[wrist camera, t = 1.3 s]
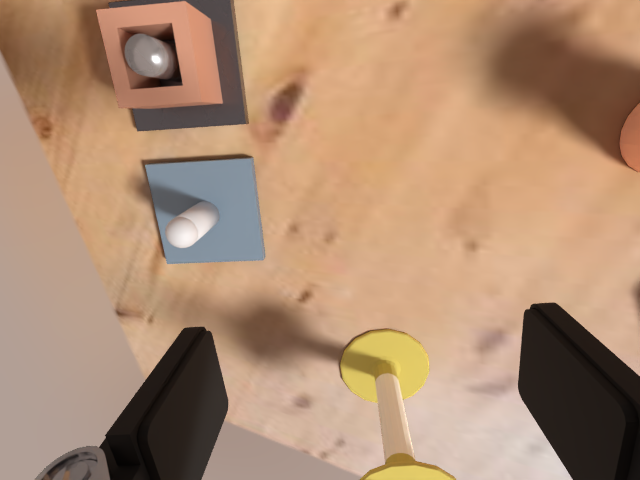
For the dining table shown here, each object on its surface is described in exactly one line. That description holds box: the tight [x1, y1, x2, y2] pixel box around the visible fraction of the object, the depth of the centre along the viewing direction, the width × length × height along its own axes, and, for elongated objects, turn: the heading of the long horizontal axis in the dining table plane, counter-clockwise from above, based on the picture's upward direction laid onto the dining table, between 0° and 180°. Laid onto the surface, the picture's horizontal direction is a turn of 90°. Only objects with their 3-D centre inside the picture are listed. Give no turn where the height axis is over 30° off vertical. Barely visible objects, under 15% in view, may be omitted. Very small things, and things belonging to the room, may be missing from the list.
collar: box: [96, 1, 223, 109], centre depth 28 cm, size 6×6×5 cm
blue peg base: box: [145, 157, 265, 264], centre depth 32 cm, size 10×10×8 cm
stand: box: [109, 0, 249, 131], centre depth 28 cm, size 10×10×7 cm
